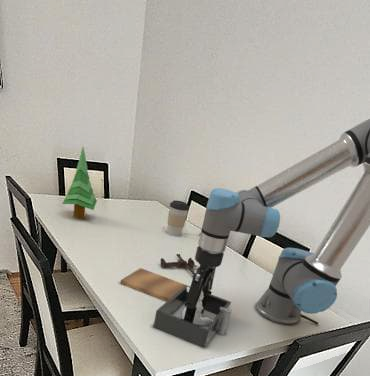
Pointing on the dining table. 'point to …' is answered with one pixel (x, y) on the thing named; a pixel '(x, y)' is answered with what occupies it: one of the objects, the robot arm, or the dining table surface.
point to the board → (152, 284)
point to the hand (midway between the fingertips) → (193, 318)
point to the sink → (187, 328)
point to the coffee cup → (177, 217)
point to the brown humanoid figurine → (179, 263)
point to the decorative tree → (81, 190)
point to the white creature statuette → (198, 312)
